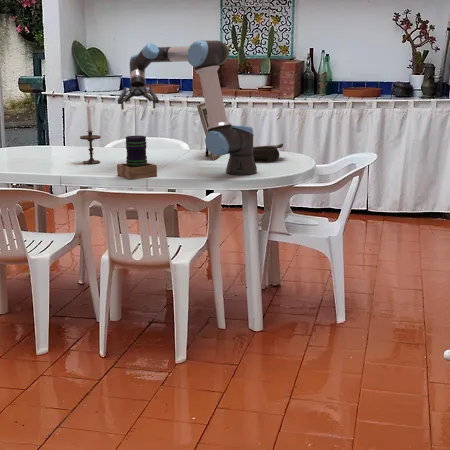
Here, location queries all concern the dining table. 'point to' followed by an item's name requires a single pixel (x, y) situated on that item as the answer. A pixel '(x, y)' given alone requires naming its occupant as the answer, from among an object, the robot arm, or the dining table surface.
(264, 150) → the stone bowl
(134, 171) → the wooden box
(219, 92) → the robot arm
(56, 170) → the dining table surface
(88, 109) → the candlestick
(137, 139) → the storage jar
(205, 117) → the picture frame
